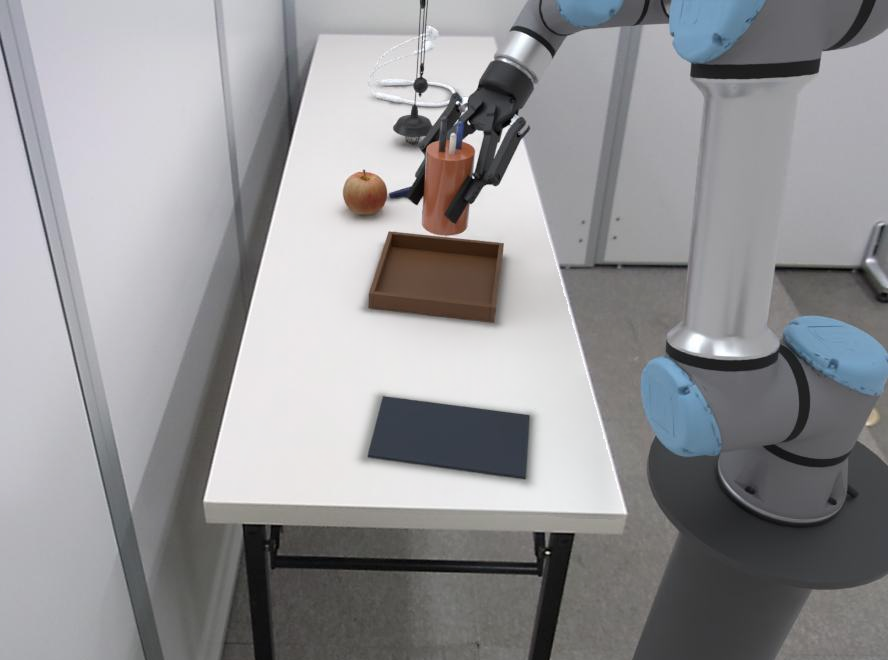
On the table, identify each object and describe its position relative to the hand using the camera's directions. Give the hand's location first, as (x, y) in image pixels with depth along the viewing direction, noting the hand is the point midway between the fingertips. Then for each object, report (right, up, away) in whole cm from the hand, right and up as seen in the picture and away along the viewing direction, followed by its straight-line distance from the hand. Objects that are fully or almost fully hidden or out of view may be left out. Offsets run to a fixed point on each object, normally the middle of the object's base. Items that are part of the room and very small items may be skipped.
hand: (430, 209), depth 133 cm
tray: (+2, -9, +14) cm, 17 cm away
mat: (+1, -33, -15) cm, 36 cm away
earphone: (+3, +43, +75) cm, 86 cm away
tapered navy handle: (+3, +11, +37) cm, 39 cm away
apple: (-9, +7, +32) cm, 34 cm away
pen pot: (+3, -1, +4) cm, 5 cm away
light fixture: (+1, +25, +54) cm, 59 cm away
